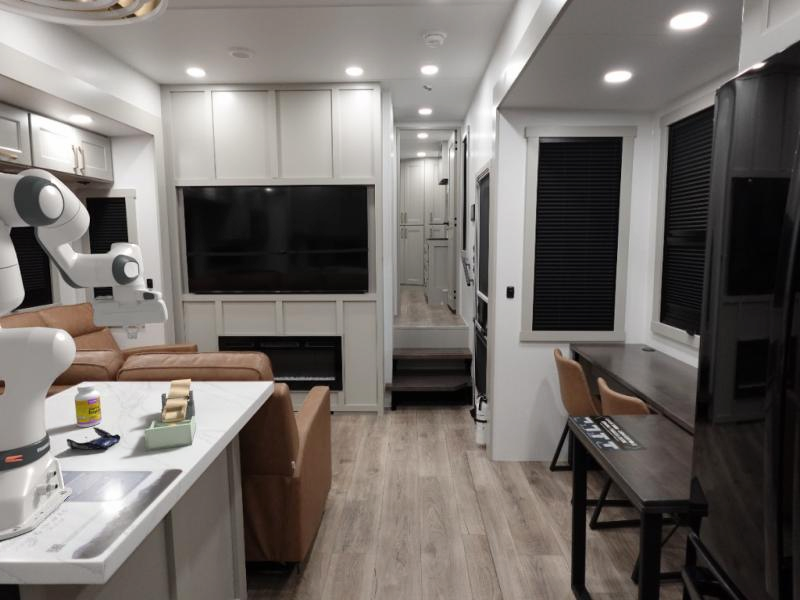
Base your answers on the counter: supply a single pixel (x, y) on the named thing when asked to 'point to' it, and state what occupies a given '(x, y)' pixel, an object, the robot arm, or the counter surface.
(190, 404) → the fulcrum
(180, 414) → the lever
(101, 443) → the snack package
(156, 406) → the counter surface
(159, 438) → the dish
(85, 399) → the supplement bottle
